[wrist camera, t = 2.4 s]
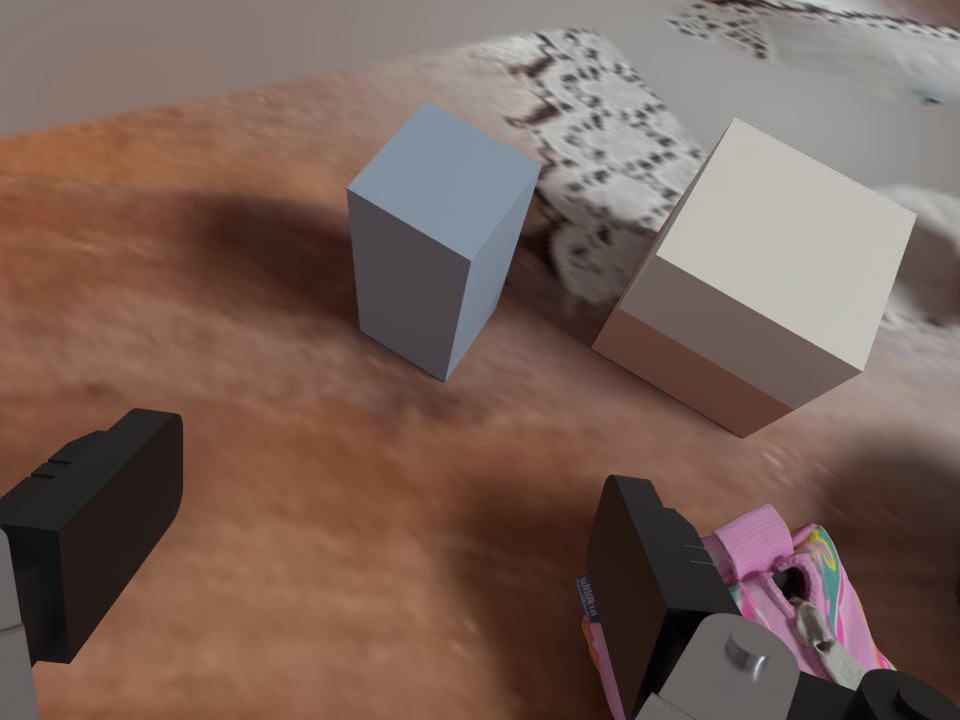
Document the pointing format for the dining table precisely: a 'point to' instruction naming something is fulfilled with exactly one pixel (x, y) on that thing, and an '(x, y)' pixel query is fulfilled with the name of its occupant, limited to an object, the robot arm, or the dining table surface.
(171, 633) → the dining table surface
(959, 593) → the muffin
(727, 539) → the pencil case
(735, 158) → the tower base
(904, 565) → the dining table surface
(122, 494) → the robot arm
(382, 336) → the blue brick
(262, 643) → the dining table surface
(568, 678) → the dining table surface
